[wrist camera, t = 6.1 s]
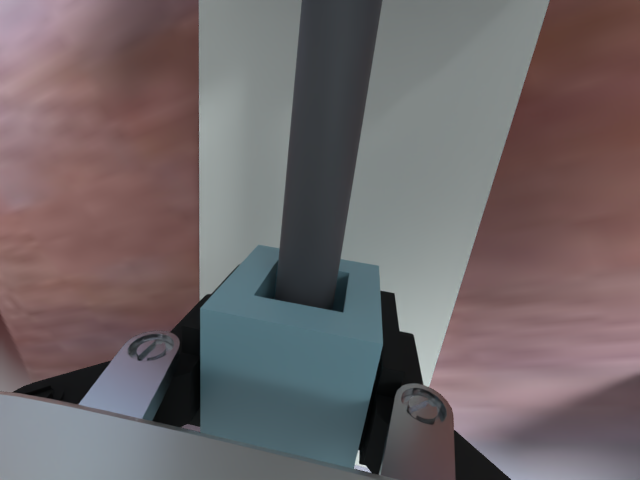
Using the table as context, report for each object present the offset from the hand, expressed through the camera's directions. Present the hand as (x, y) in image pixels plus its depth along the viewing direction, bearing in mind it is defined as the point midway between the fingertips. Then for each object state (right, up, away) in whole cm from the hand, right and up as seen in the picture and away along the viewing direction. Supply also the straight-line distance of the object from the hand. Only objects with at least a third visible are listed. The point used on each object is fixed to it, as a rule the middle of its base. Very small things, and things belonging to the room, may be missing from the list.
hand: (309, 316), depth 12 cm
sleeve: (0, 0, 0) cm, 0 cm away
